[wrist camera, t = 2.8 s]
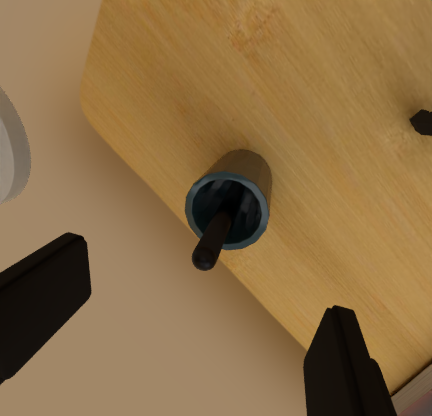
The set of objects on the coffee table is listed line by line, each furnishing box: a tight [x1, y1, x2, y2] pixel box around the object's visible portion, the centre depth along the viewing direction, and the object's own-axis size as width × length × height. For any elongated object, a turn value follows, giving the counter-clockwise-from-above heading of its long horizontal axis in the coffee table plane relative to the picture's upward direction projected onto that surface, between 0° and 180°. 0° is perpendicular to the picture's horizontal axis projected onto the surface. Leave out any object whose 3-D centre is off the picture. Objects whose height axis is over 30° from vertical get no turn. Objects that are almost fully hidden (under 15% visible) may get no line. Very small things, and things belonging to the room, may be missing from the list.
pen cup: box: [185, 150, 272, 250], centre depth 20 cm, size 6×6×8 cm
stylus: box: [192, 181, 246, 271], centre depth 17 cm, size 1×1×13 cm
